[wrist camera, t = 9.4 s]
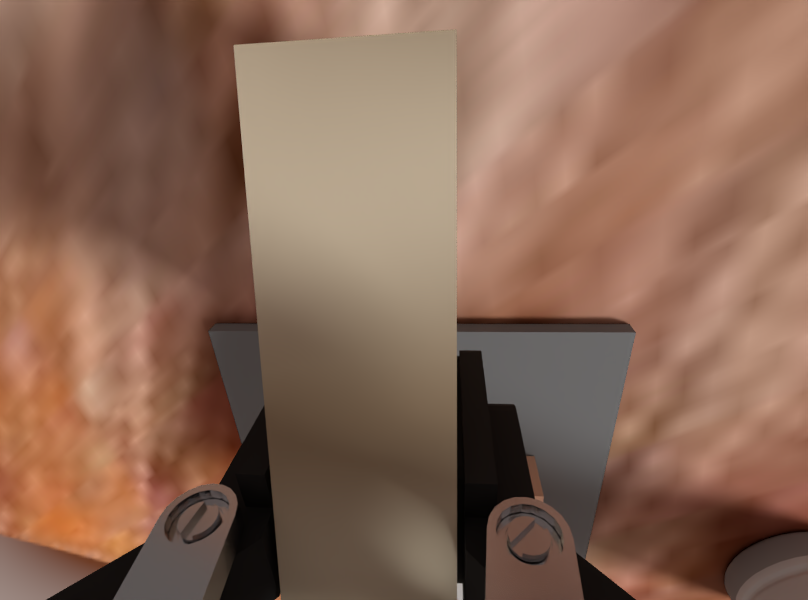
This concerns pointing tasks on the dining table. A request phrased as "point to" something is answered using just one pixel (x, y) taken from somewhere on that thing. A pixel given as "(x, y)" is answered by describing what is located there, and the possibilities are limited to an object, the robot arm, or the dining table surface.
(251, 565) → the robot arm
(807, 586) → the travel mug
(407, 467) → the beige rectangular bar
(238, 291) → the dining table surface
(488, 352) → the grey square plate
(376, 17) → the dining table surface
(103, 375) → the dining table surface
